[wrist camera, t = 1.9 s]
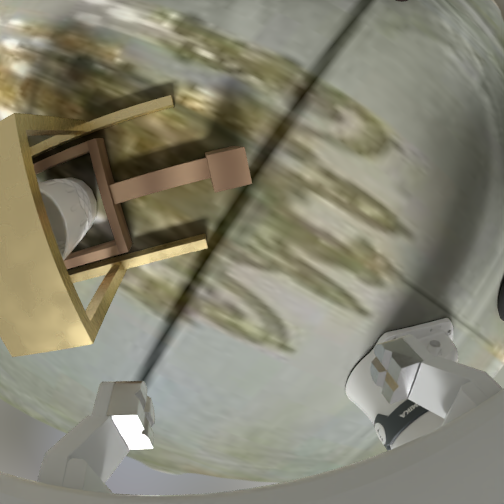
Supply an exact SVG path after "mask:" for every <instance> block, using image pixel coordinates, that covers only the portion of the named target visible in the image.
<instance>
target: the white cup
mask: <svg viewBox="0 0 504 504" xmlns="http://www.w3.org/2000/svg"><path fill="white" fill-rule="evenodd" d="M38 185H39V189H40V193H41V196H42V200H43V203H44V206H45V209H46V213H47V216H48V219H49V222H50V225H51V228H52V231H53V234H54V237H55V240H56V242H57V245H58V248H59V251H60V253H61V256H62V258H63V261H64V260H65V259H66V258H67V256H68V255H69V254H70V253H71V252H72V250H73V249H74V248H75V247H76V246H77V245H78V243H79V242H80V241H81V239H82V238H83V237H84V235H85V234H86V232H87V231H88V230H89V229H90V228H91V226H92V224H93V222H94V220H95V218H96V214H97V201H96V199H95V196H94V194H93V191H92V189H91V188H90V187H89V186H88V185H87V184H86V183H85V182H84V181H82V180H79V179H76V178H72V177H69V178H64V179H53V180H47V181H43V182H38Z"/></svg>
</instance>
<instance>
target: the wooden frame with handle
mask: <svg viewBox="0 0 504 504" xmlns="http://www.w3.org/2000/svg"><path fill="white" fill-rule="evenodd" d="M87 153H90V157H91V161H92V165H93V169H94V172H95V176H96V180H97V184H98V187H99V191H100V194H101V198H102V201H103V205H104V208H105V211H106V214H107V218H108V221H109V224H110V227H111V230H112V233H113V236H114V239H115V240H113V241H110V242H106V243H103V244H99V245H96V246H93V247H89V248H86V249H83V250H80V251H76V252H73V253H70V254H69V255H68V256H67V258H66V259H65V260H64V264H65V266H66V269H70V268H73V267H77V266H80V265H83V264H87V263H90V262H94V261H97V260H101V259H105V258H108V257H112V256H115V255H119V254H122V253H126V252H129V250H130V248H131V246H132V245H133V243H132V240H131V237H130V234H129V230H128V227H127V224H126V221H125V218H124V214H123V211H122V208H121V204H120V203H121V202H124V201H128V200H131V199H134V198H138V197H141V196H145V195H148V194H152V193H155V192H159V191H162V190H166V189H169V188H173V187H177V186H181V185H184V184H188V183H192V182H196V181H200V180H204V179H208V178H211V181H212V185H213V188H214V191H215V192H219V191H223V190H228V189H232V188H236V187H240V186H245V185H249V184H252V181H251V176H250V171H249V167H248V162H247V157H246V152H245V148H244V147H239V146H230V147H226V148H221V149H217V150H213V151H208V152H205V156H206V157H205V158H201V159H197V160H193V161H189V162H185V163H181V164H178V165H174V166H170V167H166V168H163V169H159V170H156V171H152V172H149V173H145V174H142V175H139V176H135V177H132V178H129V179H126V180H122V181H119V182H116V183H114V179H113V176H112V172H111V168H110V164H109V160H108V156H107V152H106V148H105V144H104V139H103V138H94V139H92V140H89V141H86V142H84V143H81V144H79V145H76V146H74V147H71V148H69V149H66V150H64V151H62V152H59V153H57V154H55V155H52V156H50V157H48V158H45V159H43V160H41V161H39V162H37V163H34V164H33V166H34V170H35V174H38V173H41V172H43V171H45V170H48V169H50V168H52V167H55V166H57V165H59V164H62V163H64V162H67V161H69V160H72V159H74V158H77V157H79V156H82V155H84V154H87Z"/></svg>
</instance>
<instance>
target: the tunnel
mask: <svg viewBox="0 0 504 504" xmlns="http://www.w3.org/2000/svg"><path fill="white" fill-rule="evenodd" d="M172 107H174V103H173V98H172V96H171V95H169V96H166V97H162V98H158V99H155V100H151V101H148V102H145V103H141V104H138V105H135V106H132V107H129V108H125V109H122V110H119V111H117V112H114V113H111V114H108V115H105V116H102V117H100V118H97V119H94V120H92V121H89V122H87V121H84V120H76V119H69V118H61V117H52V116H42V115H32V114H20V113H14V114H12V115H10V116H8V117H7V118H5V119H3V120H2V121H0V337H1V339H2V340H3V342H4V344H5V346H6V347H7V349H8V351H9V352H10V354H11V355H12V357H16V356H23V355H30V354H36V353H43V352H49V351H55V350H61V349H67V348H73V347H79V346H84V345H90V344H93V343H94V340H95V338H96V336H97V333H98V331H99V329H100V326H101V324H102V322H103V320H104V317H105V315H106V313H107V311H108V308H109V306H110V304H111V302H112V300H113V298H114V295H115V293H116V291H117V289H118V287H119V285H120V283H121V281H122V279H123V277H124V275H125V273H126V271H127V269H128V268H132V267H136V266H139V265H143V264H147V263H151V262H155V261H159V260H163V259H166V258H170V257H174V256H178V255H182V254H186V253H190V252H194V251H198V250H202V249H206V248H208V246H207V240H206V236H205V234H201V235H197V236H193V237H189V238H185V239H181V240H177V241H174V242H170V243H166V244H162V245H158V246H155V247H151V248H147V249H143V250H140V251H136V252H132V253H129V254H125V255H121V256H118V257H114V258H110V259H107V260H103V261H100V262H96V263H93V264H89V265H86V266H82V267H79V268H75V269H72V270H68V271H67V269H66V266H65V264H64V261H63V258H62V256H61V253H60V251H59V248H58V245H57V242H56V240H55V237H54V234H53V231H52V228H51V225H50V222H49V219H48V216H47V213H46V209H45V206H44V203H43V200H42V196H41V193H40V189H39V185H38V182H37V178H36V174H35V170H34V166H33V162H32V158H34V157H36V156H38V155H40V154H43V153H45V152H47V151H49V150H52V149H54V148H56V147H58V146H61V145H63V144H65V143H68V142H70V141H73V140H75V139H78V138H80V137H83V136H85V135H88V134H91V133H93V132H96V131H99V130H101V129H104V128H107V127H110V126H113V125H116V124H119V123H121V122H125V121H128V120H131V119H134V118H137V117H140V116H144V115H147V114H150V113H154V112H157V111H161V110H164V109H168V108H172ZM36 135H55V136H53V137H51V138H49V139H46V140H44V141H42V142H40V143H38V144H36V145H34V146H32V147H30V146H29V143H28V138H27V136H36ZM105 274H107V275H106V276H105V278H104V280H103V281H102V283H101V285H100V286H99V288H98V290H97V291H96V293H95V295H94V296H93V298H92V300H91V302H90V303H89V305H88V307H87V309H86V310H84V308H83V306H82V303H81V301H80V299H79V297H78V295H77V292H76V290H75V288H74V285H73V283H75V282H79V281H83V280H87V279H90V278H94V277H98V276H102V275H105Z"/></svg>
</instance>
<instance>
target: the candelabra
mask: <svg viewBox="0 0 504 504" xmlns="http://www.w3.org/2000/svg"><path fill="white" fill-rule="evenodd" d="M498 311H499V316H500V318H501V319H502V320H503V321H504V282H503V284H502V287H501V290H500V295H499V298H498Z"/></svg>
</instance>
